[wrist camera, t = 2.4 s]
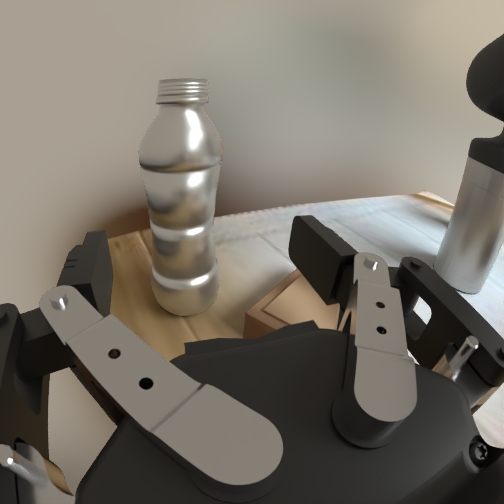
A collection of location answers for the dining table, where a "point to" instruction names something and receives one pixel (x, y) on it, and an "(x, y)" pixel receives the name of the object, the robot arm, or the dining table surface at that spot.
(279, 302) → the plinth
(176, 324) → the dining table surface
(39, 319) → the robot arm
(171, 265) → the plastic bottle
